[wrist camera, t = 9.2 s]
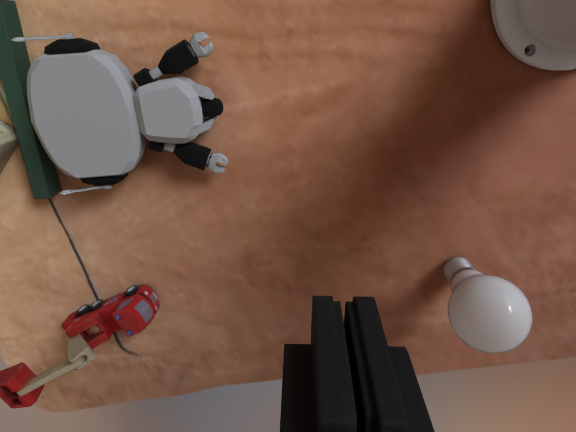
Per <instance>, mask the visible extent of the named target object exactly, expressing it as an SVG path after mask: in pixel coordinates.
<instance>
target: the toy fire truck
mask: <svg viewBox="0 0 576 432" xmlns="http://www.w3.org/2000/svg"><path fill="white" fill-rule="evenodd" d="M158 308H159V300H158V298H157V296H156V294H155V293H154V291H153V290H152V289H151V288H150V287H148V286H147V285H145V284H144V285H141V286H140V287H138V286H137V285H133V286H131V287H130V288H128V289H127V291H126V292H124V293H121V294H119V295H116V296H114V297H111V298H109V299H107V300H105V301H103V300H102V299H101V300H97V301H96V302H94V303H93V304H92V305H91V306H89V305H88V304H86V305H84V306H82V307H81V308H80V309H79V310H78V311H77V312H74V313H71V314H70V315H69V316H68V318H67V319H66V320H65V322H64V323H63V324H62V327H63V329H64V330H65V332H66V333H67V335H68V336H69V337H68V338H67V359H68V360H67V361H65V362H63V363H61V364H59V365H57V366H55V367H53V368H51V369H49V370H48V371H46V372H44V373H42V374H40V375H38V376H36V375H35V374H34V373H33V372H32V371H31V370H30V369H29V368H28V367H27V365H25V363H19V364H17V365H15V366H12V367H10V368H7V369H4V370H2V371H0V397H1V398H2V399H3V400H4V401H5V402H6V403H7V404H8V405H9V406H10V407H11V408H20V407H29V406H32V405H33V404H34V403H35V402H36V401H37V399H38V397H39V395H40V393H41V391H42V390H43V388H44V386H45V384H46V383H47V382H49V381H51V380H53V379H55V378H57V377H59V376H61V375H63V374H65V373H67V372H69V371H70V370H72V369H75V370H80V369H81V368H83V367H84V366H85V365H86V364H88V363H89V362H90V361H92V360H93V359H94V358H95V357H96V354H95V353H94V351H93V350H92V349H93V348H94V347H96V346H98V345H100V344H102V343H103V342H105V341H107V340H109V339H110V337H111V335H112V333H113V332H116V331H118V330H121V329H122V330H123V331H124V332H125V333H126V335H127V336H132V335H135V334H138V333H139V332H141V331H142V330H143V329H145V328H146V326H147V325H148V324H149V323H150V322H151V321H152V319H153V318H154V316H155V314H156V313H157V310H158ZM90 309H91V310H90Z"/></svg>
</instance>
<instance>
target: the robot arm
mask: <svg viewBox="0 0 576 432" xmlns="http://www.w3.org/2000/svg"><path fill="white" fill-rule="evenodd" d="M490 6H491V13H492V21H493V24H494V26H495V29H496V32H497V35H498V37H499V38H500V40H501V42H502V43H503V45H504V46H505V48H506V49H507V50H508V51H509V52H510V53H511V54H512V55H513V56H514V57H515V58H517V59H519V60H520V61H522V62H524V63H525V64H527V65H530V66H533V67H536V68H539V69H546V70H572V69H576V0H490ZM526 47H527V52H526V53H525V48H526ZM280 432H434V429H433V426H432V423H431V420H430V417H429V414H428V411H427V408H426V405H425V402H424V399H423V396H422V393H421V390H420V387H419V384H418V381H417V378H416V375H415V372H414V369H413V366H412V363H411V360H410V357H409V354H408V351H407V349H406V348H405V347H392V346H388V345H387V341H386V337H385V334H384V330H383V327H382V323H381V319H380V316H379V312H378V308H377V305H376V301H375V298H374V297H355V296H354V297H353V302H346V304H345V315H344V323H343V316H342V309H341V303H340V301H333V297H332V296H313V298H312V323H311V344H285V345H284V362H283V382H282V402H281V421H280Z"/></svg>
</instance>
